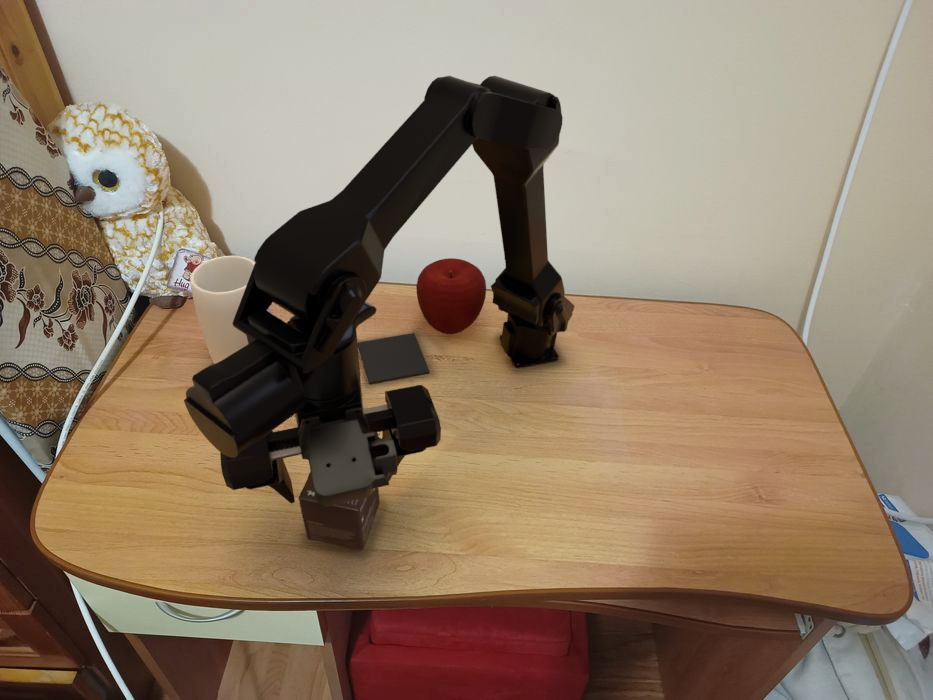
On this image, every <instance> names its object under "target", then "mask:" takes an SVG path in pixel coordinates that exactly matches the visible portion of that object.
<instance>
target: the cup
mask: <svg viewBox="0 0 933 700" xmlns="http://www.w3.org/2000/svg"><path fill="white" fill-rule="evenodd" d="M254 265H255V261H254V260H252V259H250V258H249V257H244V256H241V255H223V256H218V257H214V258H211V259H208V260H206V261H204V262H202V263H200V264H199V265H197V267H195V268H194V270H193V271H192V273H191V274H190V277H189V283H190V289H191V295H192V300H193V301H192V302H193V305H194V309H195V314H196V317H197V321H198V323H199V327H200V331H201V333H202V337H203V339H204V342H205V345H206V347H207V350H208V352H209V355H210V358H211V360H212V361H211V362H213V363H212V364H216V363H218V362H220V361H222V360H223V359H225V358H227V357H228V356H230V355H232V354H233V353H235V352H236V351H238V350H240V349H241V348H243V347H245V346H246V345H248V340H247V336H246V334H244V333H243V332H241V331H240V330H238V329H237V328H235V327H234V326H233V320H234V317H235V315H236V312H237V310H238V307H239V304H240V302H241V299H242V296H243V294H244V291H245V289H246V286H247V283H248V281H249V278H250V275H251V273H252V270H253V267H254ZM267 311H268V312H270V313H271V314H273V313H272V312H273V311H272V307H271V306H270V307H269V308H268V309H267Z"/></svg>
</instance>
